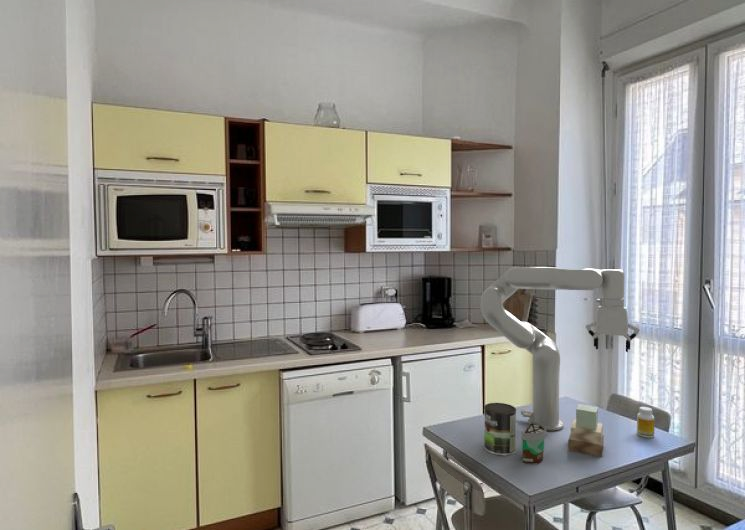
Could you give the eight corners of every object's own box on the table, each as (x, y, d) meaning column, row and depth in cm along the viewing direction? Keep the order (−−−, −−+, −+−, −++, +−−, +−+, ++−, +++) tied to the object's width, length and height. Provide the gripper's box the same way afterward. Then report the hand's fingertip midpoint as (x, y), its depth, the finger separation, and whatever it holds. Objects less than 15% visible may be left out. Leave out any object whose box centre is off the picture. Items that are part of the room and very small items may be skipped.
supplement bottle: (656, 438, 161) (657, 411, 161) (640, 437, 162) (640, 410, 162) (650, 432, 166) (651, 406, 166) (634, 431, 167) (634, 405, 167)
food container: (542, 469, 138) (542, 437, 138) (521, 464, 142) (521, 432, 141) (550, 454, 149) (550, 424, 149) (530, 450, 152) (531, 420, 152)
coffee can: (497, 458, 146) (497, 414, 146) (477, 445, 156) (478, 404, 155) (522, 452, 150) (522, 410, 150) (502, 440, 160) (502, 400, 159)
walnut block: (568, 451, 152) (568, 439, 152) (571, 440, 161) (571, 429, 160) (601, 458, 147) (601, 445, 147) (603, 446, 156) (603, 435, 156)
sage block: (575, 426, 153) (576, 409, 152) (578, 421, 158) (578, 403, 157) (595, 430, 149) (596, 412, 149) (597, 424, 155) (597, 407, 154)
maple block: (570, 439, 152) (570, 427, 152) (573, 430, 160) (574, 418, 160) (600, 445, 148) (600, 432, 147) (602, 435, 155) (602, 423, 155)
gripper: (585, 303, 167) (584, 349, 167) (640, 305, 158) (639, 354, 159) (586, 301, 173) (586, 345, 174) (639, 303, 165) (638, 350, 165)
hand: (611, 349), depth 166 cm, fingers open, 9 cm apart
